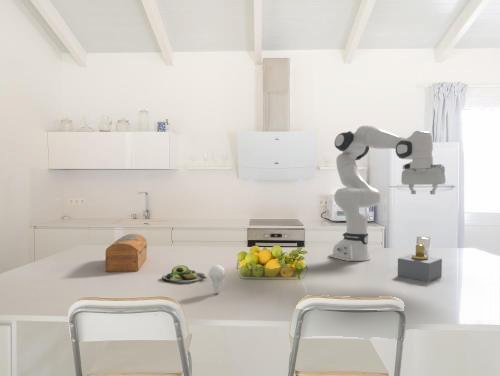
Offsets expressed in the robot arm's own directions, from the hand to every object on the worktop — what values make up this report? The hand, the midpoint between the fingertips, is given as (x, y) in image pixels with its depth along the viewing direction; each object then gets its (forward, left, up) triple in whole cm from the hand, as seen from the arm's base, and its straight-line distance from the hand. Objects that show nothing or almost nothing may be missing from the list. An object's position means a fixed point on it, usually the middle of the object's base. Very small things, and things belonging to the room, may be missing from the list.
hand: (422, 194), depth 188 cm
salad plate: (-67, -90, -37) cm, 118 cm away
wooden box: (-108, -95, -37) cm, 149 cm away
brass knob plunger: (+3, -10, -37) cm, 38 cm away
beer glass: (-3, +8, -37) cm, 38 cm away
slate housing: (+3, -10, -37) cm, 38 cm away
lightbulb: (-39, -94, -37) cm, 108 cm away
